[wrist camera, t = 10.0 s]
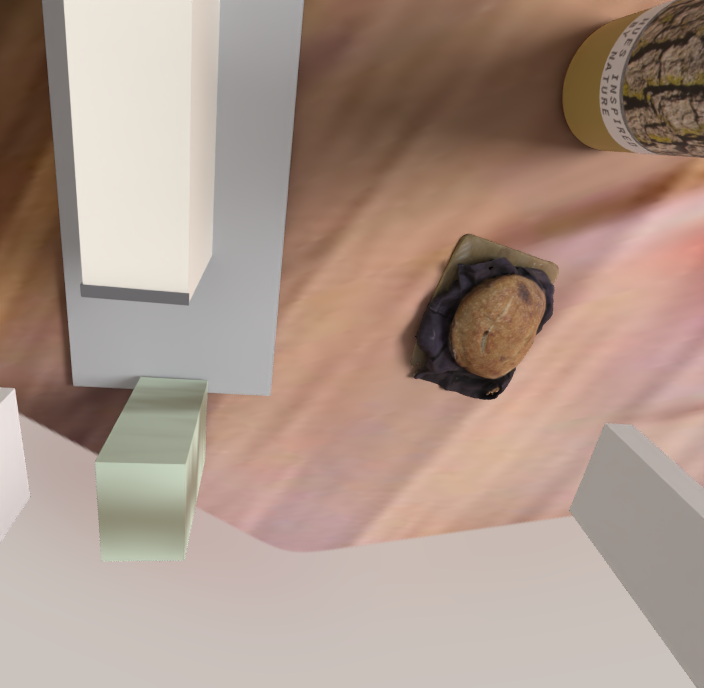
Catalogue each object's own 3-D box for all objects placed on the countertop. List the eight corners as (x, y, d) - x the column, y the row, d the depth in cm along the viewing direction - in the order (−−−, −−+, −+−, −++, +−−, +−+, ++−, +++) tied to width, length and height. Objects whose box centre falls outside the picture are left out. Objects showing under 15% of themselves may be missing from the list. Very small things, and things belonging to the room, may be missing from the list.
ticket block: (38, -98, 22) (-113, -244, 14) (307, -41, 24) (325, -135, 16) (76, 382, 31) (-1, 480, 22) (270, 392, 33) (269, 485, 25)
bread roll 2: (455, 225, 31) (476, 236, 28) (565, 266, 34) (597, 281, 30) (392, 371, 35) (405, 397, 31) (496, 400, 37) (518, 427, 34)
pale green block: (140, 376, 31) (94, 462, 23) (207, 380, 32) (185, 464, 24) (142, 457, 33) (101, 561, 25) (205, 459, 34) (184, 560, 26)
